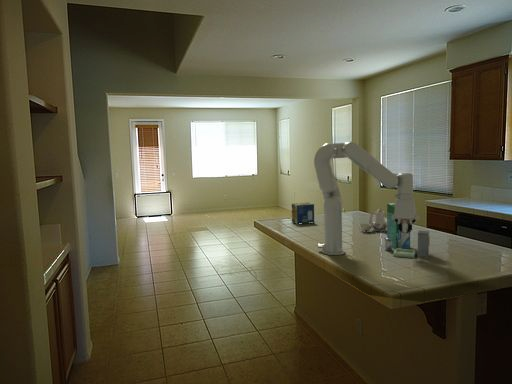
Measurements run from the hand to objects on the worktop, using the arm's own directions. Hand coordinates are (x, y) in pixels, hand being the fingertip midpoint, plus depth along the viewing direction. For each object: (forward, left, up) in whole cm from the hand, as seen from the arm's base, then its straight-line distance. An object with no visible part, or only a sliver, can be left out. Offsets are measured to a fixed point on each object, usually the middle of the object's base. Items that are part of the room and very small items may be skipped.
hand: (405, 231), depth 199 cm
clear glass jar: (-9, +7, -13) cm, 17 cm away
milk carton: (-5, +18, -13) cm, 23 cm away
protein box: (-83, +75, -13) cm, 113 cm away
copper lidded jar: (0, 0, -1) cm, 1 cm away
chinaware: (-22, +59, -13) cm, 64 cm away
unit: (+9, +1, -13) cm, 15 cm away
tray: (0, 0, -13) cm, 13 cm away
